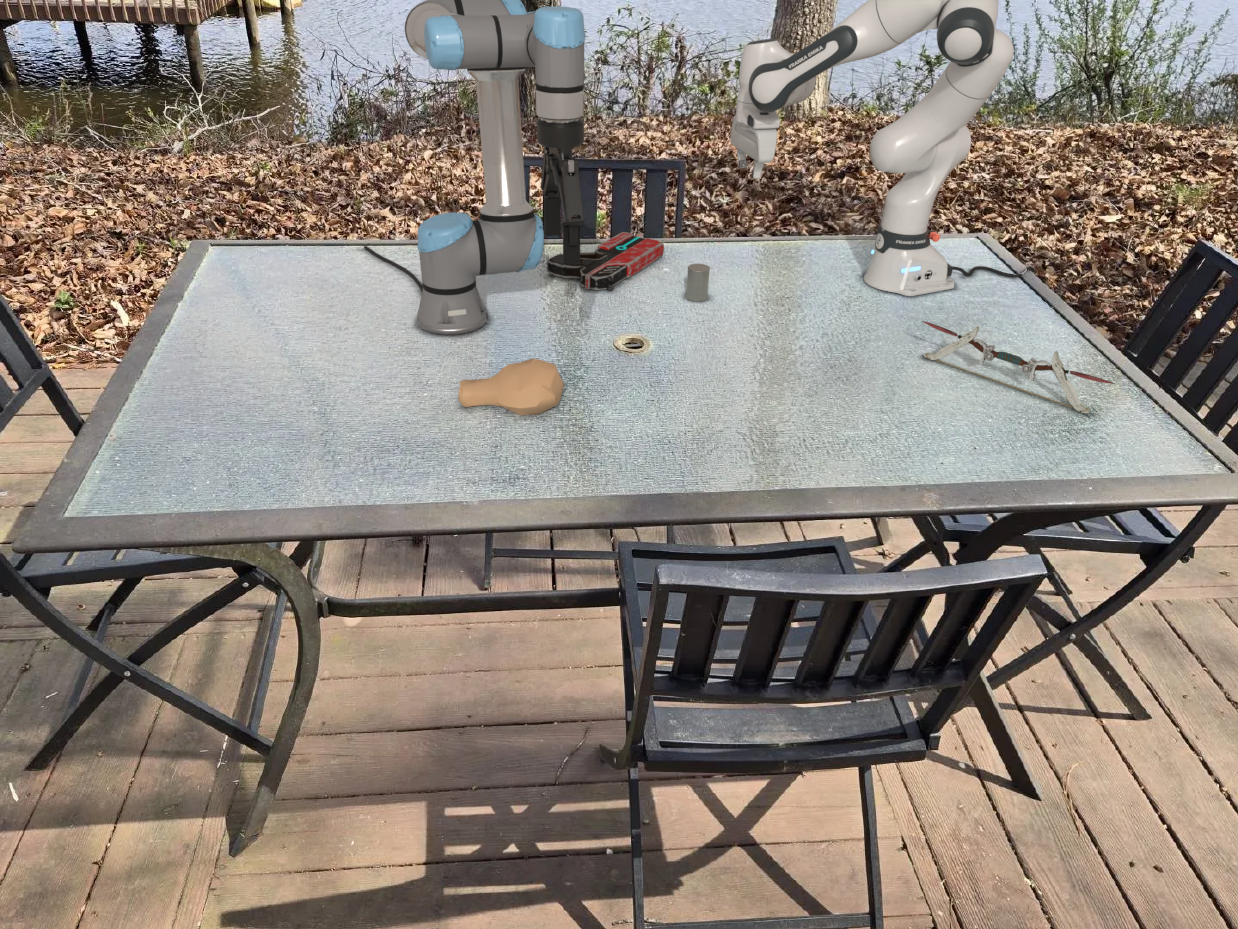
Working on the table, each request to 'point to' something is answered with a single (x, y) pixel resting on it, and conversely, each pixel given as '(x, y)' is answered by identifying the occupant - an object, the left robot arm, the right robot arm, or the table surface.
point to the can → (697, 282)
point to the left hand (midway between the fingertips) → (561, 248)
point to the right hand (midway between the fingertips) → (748, 172)
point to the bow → (1026, 366)
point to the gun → (609, 261)
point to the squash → (516, 388)
